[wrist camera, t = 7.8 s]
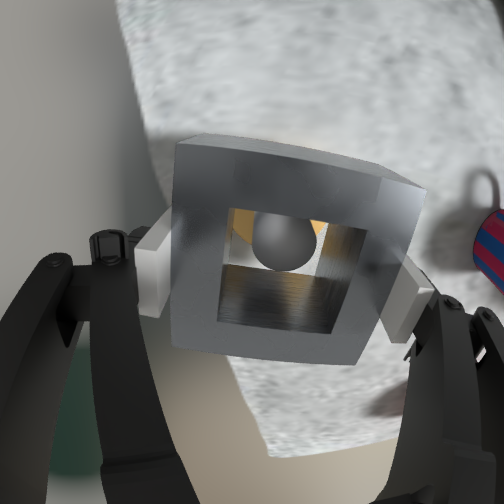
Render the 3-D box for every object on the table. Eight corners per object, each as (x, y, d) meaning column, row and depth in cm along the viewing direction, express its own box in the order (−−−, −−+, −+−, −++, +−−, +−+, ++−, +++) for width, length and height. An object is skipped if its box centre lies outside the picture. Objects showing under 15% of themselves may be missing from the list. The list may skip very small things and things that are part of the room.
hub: (233, 139, 18) (216, 157, 12) (336, 157, 19) (374, 185, 12) (222, 234, 22) (204, 294, 15) (314, 248, 22) (334, 310, 15)
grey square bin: (204, 133, 13) (176, 142, 9) (379, 164, 14) (426, 190, 9) (192, 288, 17) (171, 346, 13) (336, 306, 18) (355, 365, 13)
